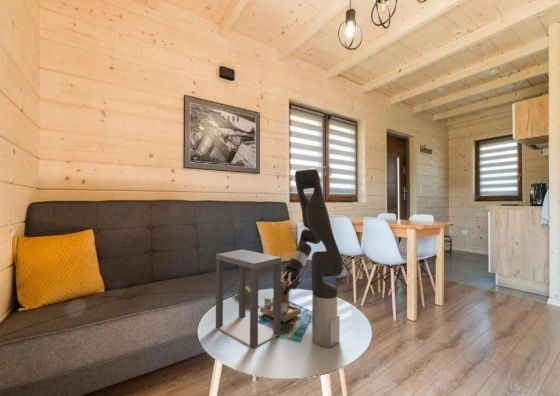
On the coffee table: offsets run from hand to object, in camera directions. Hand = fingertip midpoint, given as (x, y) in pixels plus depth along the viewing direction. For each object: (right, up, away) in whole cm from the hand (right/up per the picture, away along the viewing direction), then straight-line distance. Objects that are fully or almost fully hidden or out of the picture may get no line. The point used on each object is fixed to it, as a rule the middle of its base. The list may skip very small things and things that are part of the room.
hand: (279, 293), depth 124 cm
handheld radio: (-16, -10, +18) cm, 26 cm away
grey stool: (-13, -10, -14) cm, 22 cm away
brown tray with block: (0, -9, 0) cm, 9 cm away
